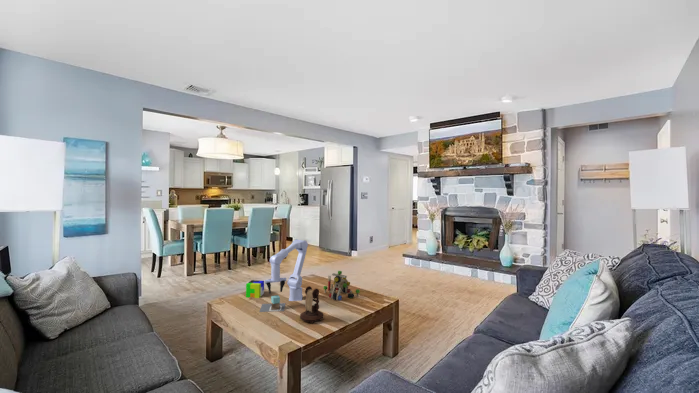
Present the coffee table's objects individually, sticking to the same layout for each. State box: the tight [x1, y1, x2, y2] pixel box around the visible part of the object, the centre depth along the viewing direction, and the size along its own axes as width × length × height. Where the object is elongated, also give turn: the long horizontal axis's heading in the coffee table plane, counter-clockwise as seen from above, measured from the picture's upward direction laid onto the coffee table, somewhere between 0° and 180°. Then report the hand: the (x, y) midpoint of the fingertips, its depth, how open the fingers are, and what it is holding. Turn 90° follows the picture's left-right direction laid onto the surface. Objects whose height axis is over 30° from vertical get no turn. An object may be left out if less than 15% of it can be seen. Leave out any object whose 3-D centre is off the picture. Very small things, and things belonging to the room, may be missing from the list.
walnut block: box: [271, 302, 281, 310], centre depth 206 cm, size 5×5×4 cm
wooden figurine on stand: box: [299, 285, 324, 325], centre depth 191 cm, size 15×15×20 cm
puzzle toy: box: [245, 279, 265, 299], centre depth 232 cm, size 10×10×10 cm
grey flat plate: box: [259, 302, 286, 313], centre depth 207 cm, size 16×14×1 cm
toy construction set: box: [323, 270, 360, 301], centre depth 235 cm, size 27×22×21 cm
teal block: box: [270, 294, 281, 304], centre depth 206 cm, size 4×4×4 cm
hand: (275, 292), depth 209 cm, fingers open, 7 cm apart
